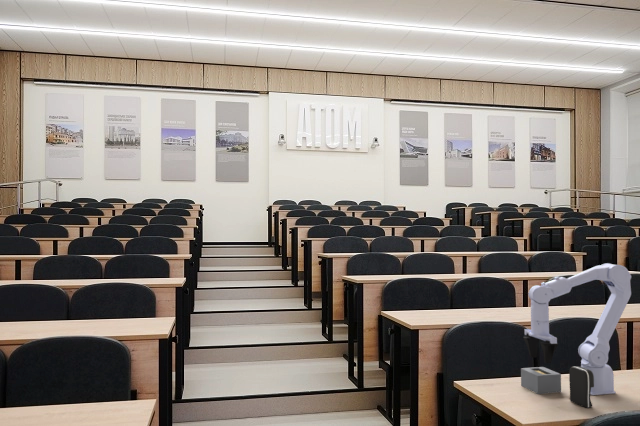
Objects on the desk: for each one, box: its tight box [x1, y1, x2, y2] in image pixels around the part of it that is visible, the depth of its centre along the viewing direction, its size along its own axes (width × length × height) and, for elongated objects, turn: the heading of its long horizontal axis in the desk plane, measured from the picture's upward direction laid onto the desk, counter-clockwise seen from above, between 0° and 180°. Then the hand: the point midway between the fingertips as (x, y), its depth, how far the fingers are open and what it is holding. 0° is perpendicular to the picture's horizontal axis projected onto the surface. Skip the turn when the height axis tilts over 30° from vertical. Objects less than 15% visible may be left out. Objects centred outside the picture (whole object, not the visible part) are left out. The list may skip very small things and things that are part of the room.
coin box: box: [520, 366, 562, 395], centre depth 168 cm, size 9×9×6 cm
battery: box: [568, 366, 594, 408], centre depth 153 cm, size 7×4×11 cm, turn 17°
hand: (540, 360), depth 169 cm, fingers open, 7 cm apart
